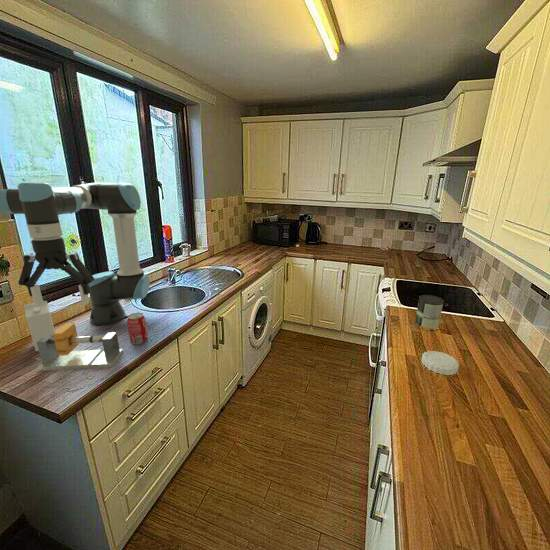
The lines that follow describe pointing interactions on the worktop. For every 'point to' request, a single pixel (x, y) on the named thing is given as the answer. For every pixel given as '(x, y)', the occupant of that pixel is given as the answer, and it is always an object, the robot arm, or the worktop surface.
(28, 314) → the milk carton
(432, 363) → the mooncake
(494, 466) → the worktop surface
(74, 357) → the pipe stand
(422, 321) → the coffee can
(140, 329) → the soda can
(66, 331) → the orange tall block
